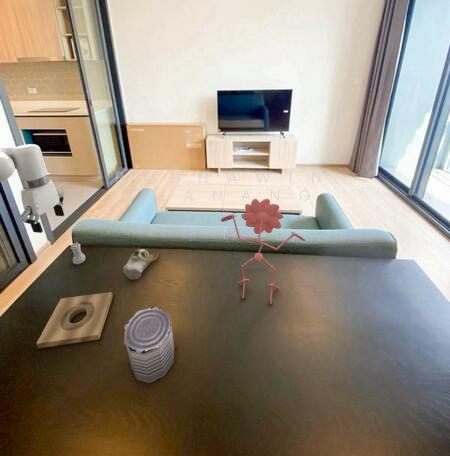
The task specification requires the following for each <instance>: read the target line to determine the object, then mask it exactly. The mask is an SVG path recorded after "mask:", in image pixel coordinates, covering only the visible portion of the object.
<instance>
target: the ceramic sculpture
mask: <svg viewBox="0 0 450 456" xmlns="http://www.w3.org/2000/svg"><path fill="white" fill-rule="evenodd" d="M160 254H161V252H157V253H152V254H150V253H149V251H148V250H147V249H145V248H137V249H136V250H135V251H134V252H133V253H131V255H130V256H129V259H128V261H127V263H126V264H125V265H124V266H123V267H122V272H123V275H124V276H125V277H126V278H128V279H129V280H131V281H134V280H139V279H140V278H141V277H142V274H143V271H144V270H145V269H146V268H147V267H148V266H150V265H152V264H154V263H156V261H158V259H159V258H160Z"/></svg>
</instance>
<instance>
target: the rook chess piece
mask: <svg viewBox="0 0 450 456" xmlns="http://www.w3.org/2000/svg"><path fill="white" fill-rule="evenodd" d="M70 250H72V253H73V257H72V264H73V265H81V264H83V263H84V262H85V261H86V257H87V256H86V255H85V254H84V253H83V252H82V250H81V244H80V243H79V242H77V241H76V242H74V243H72V244H71V246H70Z"/></svg>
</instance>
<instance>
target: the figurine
mask: <svg viewBox="0 0 450 456" xmlns="http://www.w3.org/2000/svg"><path fill="white" fill-rule="evenodd" d="M244 205H245V206H244V209H245V212H243V213H241V215H240V217H241V218H242V219H243V220H244V221H245V226H246V227H247V228H253V232H254V234H256V235H258V236H257V238H241V236H240V232H239V229H238V227H237V222H236V219H235V217H236V215H235V214H234V213H232V214H228V215H225V216H223V217H221V218H220V221H221V222H223V223H224V222H227V221H230V220H232V221H233V224H234V225H233V226H234V228H235V231H236V236H237V238H238V241H239V242H240V241H241V242H242V241H245V242H246V241H252V242H253V241H256V243H260V244H261V245H260V247H259V250H258V252H256V253H255V254H254V256H253V257H252V258H250V259H249V260H247V261H246V262H244V263H243V264H241V268H240V269H238V270H237V272H239V271H240V270H241V272H242V278H243V279H242V280H240V281H238V282H237V285H239V286H240V285H243V286H242V295H241V296H242V297H241V299H245V290H246V288H245V287H246V283H247V282H249V280H250V279H248V278H245V273H244V269H245V266H246V265H247V264H249V263H250V262H251V261H253V260H255V262H257V263H260V262H262V261H264V262H266V263H267V265H269V266H270V267H271V268H272V269H273V270H274V271H273V276H272V282H271V283H267V286H268V287H270V295H269V296H270V298H269V304H270V305H272V304H273V303H272V302H273V291H274V289H275V290H281V287H280V286H277V285H275V284H274V281H275V277H276V271H277V269H276V268H275V267H274V266H273V265H272V264H271V263H269V262H268V260H266V259H265V258H264V255H263V254H262V253H261V252H262V251H261V250H262V248H263V246H264V245H265V246H267V247H269V248H271V249H273V250H275V251H277V250H279V249H280V248H281V247H282V246H284V245H285V244H286V243H287V242H289V241H290V240H291V239H292V238H293V237H296V238H298V239H299V240H301V241H303V242H306V239H305V238H304V237H302V236H301V235H299V234H298V233H296V232H293V231H292V232H291V235H289V236H288V237H287V238H286V239H285V240H284V241H282V243H280V244H279V245H278V246H277V247H275V246H273V245H271V244H269V243H266V242H265V239H260V238H261V235H262V233H263V232H265V233H266V234H271V233H272V232H273V229H277V230H279V229H281V228H282V223H281V222H280V220H281V219H283V218H284V215H283V214H282V212H280V211H279V209H280V204H279V205H278V204H277V203H271V199H269V198H264V199H262V200H261V201H260V200H258V199H257V198H254V199H252V201H251V202H250V203H246V204H244ZM248 268H251V266H247V269H248ZM256 268H258V269H259V268H260V266H258V265H257V266H255V269H256ZM261 269H264V268H263V267H261ZM267 271H268V272H270V270H268V269H267ZM235 273H236V271H234V272H233V274H235Z"/></svg>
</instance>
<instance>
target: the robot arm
mask: <svg viewBox="0 0 450 456" xmlns="http://www.w3.org/2000/svg"><path fill="white" fill-rule="evenodd" d="M15 170H16V172H17V175H18V176H19V181H20V183H21V186H22V189H20V195H21V196H20V197H21V203H22V207H23V209H24V211H22V213H21V215H19V217H18V218H19V220H20V221H21V222H23V223H24V224H27V225H28V224H29V225H30V226H31V230H32V232H33V233H39V234H42V233H43V232H44V231H43V230H44V229H43V227H42V224H41V222H40V221H39V220H40V217H41V216H42V215H44V214H46V213H47V212H48V211H50V210H51V209H53V212H54V214H55V216H56V217H64V216H65V213H64V208H63V205H64V203H63V202H64V200H65V199H64V196H65V192H64V191H57V188H56V186H55V184H54V183H53V181H52V179H50V176H49V175H50V172H49V171H48V169H47V166H46V163H45V159H44V156H43V152H42V150H41V147H40V146H39V145H37V144H34V143H30V144H29V143H27V144H22V145H18V146H15V147H4V148H3V147H2V148H0V182H2V181H5V180H7V179H9V178H10V177H12V176H13V175H14V173H15Z"/></svg>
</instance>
